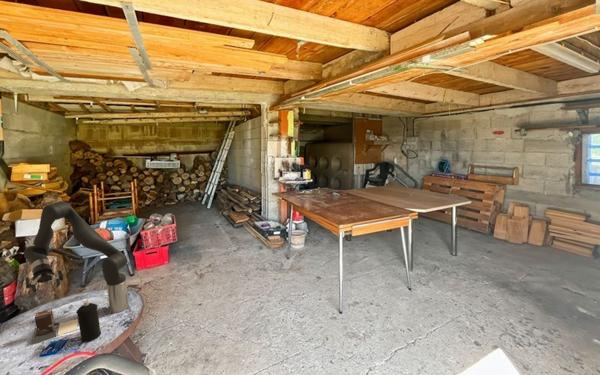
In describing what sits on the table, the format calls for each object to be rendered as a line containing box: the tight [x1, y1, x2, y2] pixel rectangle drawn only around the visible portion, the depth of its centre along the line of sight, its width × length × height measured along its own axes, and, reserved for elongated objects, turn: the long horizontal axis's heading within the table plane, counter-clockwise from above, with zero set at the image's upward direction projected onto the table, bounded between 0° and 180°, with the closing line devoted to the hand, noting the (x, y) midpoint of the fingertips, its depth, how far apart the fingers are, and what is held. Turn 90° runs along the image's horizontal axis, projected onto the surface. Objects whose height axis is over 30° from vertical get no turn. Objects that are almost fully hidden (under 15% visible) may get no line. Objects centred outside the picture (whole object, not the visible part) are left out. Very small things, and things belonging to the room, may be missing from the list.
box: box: [34, 308, 56, 336], centre depth 135 cm, size 6×4×12 cm
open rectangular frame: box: [30, 321, 60, 346], centre depth 136 cm, size 9×11×3 cm
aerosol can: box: [75, 299, 102, 343], centre depth 134 cm, size 8×8×20 cm
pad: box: [57, 318, 79, 337], centre depth 141 cm, size 8×10×1 cm
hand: (46, 288), depth 137 cm, fingers open, 8 cm apart
